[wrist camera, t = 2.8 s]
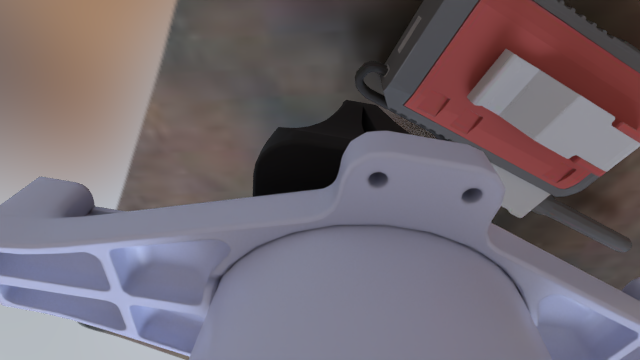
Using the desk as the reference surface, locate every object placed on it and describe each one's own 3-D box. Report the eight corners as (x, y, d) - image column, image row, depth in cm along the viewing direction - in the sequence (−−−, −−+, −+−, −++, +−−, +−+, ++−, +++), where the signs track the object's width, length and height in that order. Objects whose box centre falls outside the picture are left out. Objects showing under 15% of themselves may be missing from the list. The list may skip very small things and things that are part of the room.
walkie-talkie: (332, 107, 17) (596, 241, 21) (327, 147, 14) (645, 299, 18) (435, -79, 13) (751, 139, 17) (470, -92, 9) (862, 190, 13)
